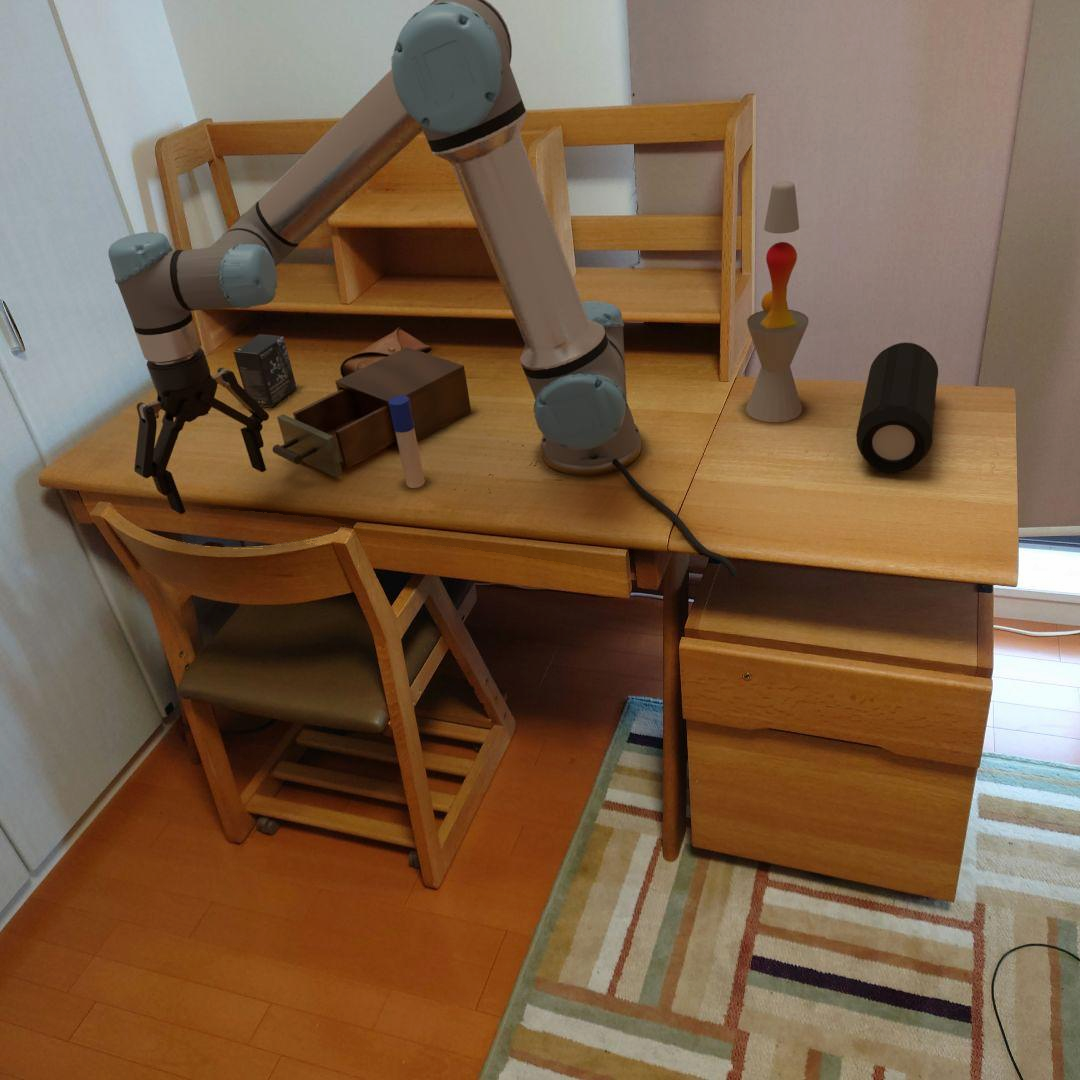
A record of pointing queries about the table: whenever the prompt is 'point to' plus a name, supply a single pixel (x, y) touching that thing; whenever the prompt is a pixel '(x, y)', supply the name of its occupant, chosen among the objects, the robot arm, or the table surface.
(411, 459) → the marker
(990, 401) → the table surface
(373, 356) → the sunglasses case
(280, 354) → the box
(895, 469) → the portable speaker
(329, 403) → the drawer
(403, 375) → the cabinet
